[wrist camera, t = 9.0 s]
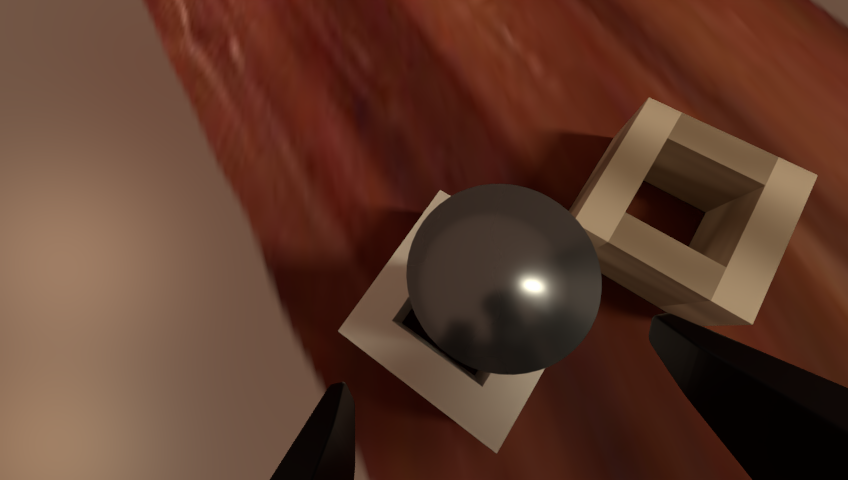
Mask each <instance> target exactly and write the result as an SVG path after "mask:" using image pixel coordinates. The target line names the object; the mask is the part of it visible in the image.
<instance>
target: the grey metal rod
mask: <svg viewBox="0 0 848 480" xmlns="http://www.w3.org/2000/svg"><path fill="white" fill-rule="evenodd" d="M406 279H407V289H408V294H409V298H410V302H411V305H412V307H413V310H414V313H415V315H416V317H417V319H418V320H419V322H420V324H421V326H422V327H423V329H424V330H425V332H426V333H427V334H428V336H429V337H430V338H431V339H432V340H433V341H434V342H435V343H436V344H437V346H438V347H440V348H441V349H442V350H443V351H444V352H446V353H447V354H448V355H449V356H451V357H453V358H454V359H456V360H457V361H459V362H461V363H463V364H465V365H467V366H469V367H472V368H474V369H477V370H481V371H484V372H488V373H494V374H500V375H517V374H526V373H531V372H534V371H538V370H542V369H544V368H546V367H549V366H551V365H553V364H555V363H557V362H558V361H560V360H561V359H563V358H565V357H566V356H567V355H568V354H570V353H571V352H572V351H573V350H574V349H575V348H576V347H577V346H578V345H579V344H580V343H581V342H582V340H583V339H584V338H585V336H586V335H587V333H588V332H589V330H590V329H591V327H592V324H593V322H594V320H595V318H596V315H597V312H598V308H599V305H600V299H601V292H602V278H601V270H600V264H599V261H598V257H597V253H596V251H595V249H594V246H593V244H592V242H591V240H590V238H589V236H588V235H587V233H586V231H585V230H584V228H583V227H582V226H581V224H580V223H579V222H578V220H577V219H576V218H575V217H574V216H573V215H572V214H571V213H570V212H569V211H568V210H566V209H565V208H564V207H563V206H562V205H560V204H559V203H557V202H556V201H554V200H553V199H551V198H550V197H548V196H546V195H544V194H542V193H540V192H537V191H534V190H532V189H529V188H526V187H521V186H517V185H509V184H488V185H480V186H476V187H472V188H469V189H466V190H463V191H461V192H458V193H456V194H455V195H453V196H451V197H449V198H447V199H446V200H445V201H443V202H442V203H440V204H439V205H438V206H437V207H436V208H435V209H434V210H433V211H432V212H430V214H429V215H428V216H427V217H426V219H425V220H424V221H423V222H422V224H421V226H420V227H419V229H418V230H417V232H416V234H415V237H414V239H413V241H412V244H411V247H410V250H409V254H408V260H407V272H406Z"/></svg>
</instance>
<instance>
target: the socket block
mask: <svg viewBox="0 0 848 480" xmlns="http://www.w3.org/2000/svg"><path fill="white" fill-rule="evenodd" d="M449 197H451V196H449V195H448V194H446V193H444V192H443V191H441V190H440V191H439V192H438V194H437V195H436V196H435V198H434V199H433V201H432V202H431V203H430V205H429V206H428V207H427V209H426V210H425V212H424V213H423V214H422V216H421V217H420V218H419V220H418V221H417V223H416V224H415V225H414V227H413V228H412V230H411V231H410V232H409V234H408V235H407V236H406V238H405V239H404V241H403V242H402V243H401V245H400V246H399V247H398V249H397V250H396V252H395V253H394V254H393V256H392V257H391V258H390V260H389V261H388V263H387V264H386V265H385V267H384V268H383V270H382V271H381V272H380V274H379V275H378V276H377V278H376V279H375V281H374V282H373V283H372V285H371V286H370V287H369V289H368V290H367V292H366V293H365V294H364V296H363V297H362V298H361V300H360V301H359V303H358V304H357V305H356V307H355V308H354V310H353V311H352V312H351V314H350V315H349V316H348V318H347V319H346V321H345V322H344V323H343V325H342V326H341V327H340V329H339V330H338V332H340V333H341V334H342V335H343V336H345V337H346V338H347V339H349V340H350V341H351V342H353V343H354V344H355V345H356V346H358V347H359V348H360V349H362V350H363V351H364V352H366V353H367V354H368V355H369V356H371V357H372V358H373V359H375V360H376V361H377V362H378V363H380V364H381V365H382V366H384V367H385V368H386V369H388V370H389V371H390V372H391V373H393V374H394V375H395V376H397V377H398V378H399V379H401V380H402V381H403V382H404V383H406V384H407V385H408V386H410V387H411V388H412V389H414V390H415V391H416V392H417V393H419V394H420V395H421V396H423V397H424V398H425V399H426V400H428V401H429V402H430V403H432V404H433V405H434V406H436V407H437V408H438V409H439V410H441V411H442V412H443V413H445V414H446V415H447V416H449V417H450V418H451V419H452V420H454V421H455V422H456V423H458V424H459V425H460V426H461V427H463V428H464V429H465V430H467V431H468V432H469V433H471V434H472V435H473V436H474V437H476V438H477V439H478V440H480V441H481V442H482V443H484V444H485V445H486V446H487V447H489V448H490V449H491V450H493V451H494V452H495V453H496V454H497V452H498V450H499V449H500V447H501V445H502V443H503V442H504V440H505V438H506V436H507V435H508V433H509V431H510V429H511V427H512V426H513V424H514V422H515V420H516V419H517V417H518V415H519V413H520V412H521V410H522V408H523V406H524V404H525V403H526V401H527V399H528V397H529V396H530V394H531V392H532V390H533V389H534V387H535V385H536V383H537V381H538V380H539V378H540V376H541V374H542V373H543V371H544V369H545V368H544V369H542V370H538V371H534V372H531V373H526V374H517V375H500V374H494V373H488V372H484V371H481V370H478V371H477V372H476V374H475V376H474V375H473V374H472V373H470V372H469V371H467V370H466V369H465V368H463V367H462V366H461V365H459V364H458V363H456V362H455V361H454V360H452V359H451V358H449V357H448V356H447V355H445V354H444V353H443V352H441V351H440V350H438V349H437V348H436V347H434V346H433V345H432V344H430V343H429V342H427V341H426V340H425V339H423V338H422V337H421V336H419V335H418V334H416V333H415V332H414V331H412V330H411V329H410V328H408V327H407V326H405V325H404V324H403V323H402V322H403V321H404V319H405V318H406V316H407V315H408V313H409V312H410V310H411V309H412V305H411V302H410V298H409V294H408V289H407V279H406V272H407V260H408V254H409V250H410V247H411V244H412V241H413V239H414V237H415V234H416V232H417V230H418V229H419V227H420V226H421V224H422V222H423V221H424V220H425V219H426V217H427V216H428V215H429V214H430V212H432V211H433V210H434V209H435V208H436V207H437V206H438V205H439V204H440V203H442V202H443V201H445V200H446V199H447V198H449Z"/></svg>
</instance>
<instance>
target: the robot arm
mask: <svg viewBox="0 0 848 480" xmlns="http://www.w3.org/2000/svg"><path fill="white" fill-rule="evenodd" d="M649 340H650V343H651V345H652V346H653V348H654V349H655V351H656V352H657V354H658V355H659V357H660V359H661V360H662V362H663V363H664V365H665V366H666V368H667V369H668V371H669V372H670V374H671V375H672V377H673V378H674V380H675V381H676V383H677V384H678V386H679V387H680V389H681V390H682V392H683V393H684V394H685V396H686V397H687V398H688V400H689V401H690V402H691V403H692V405H693V406H694V407H695V408H696V410H697V411H698V412H699V413H700V415H701V416H702V417H703V418H704V420H705V421H706V422H707V423H708V425H709V426H710V427H711V428H712V430H713V431H714V432H715V433H716V435H717V436H718V437H719V438H720V440H721V441H722V442H723V443H724V445H725V446H726V447H727V448H728V450H729V451H730V452H731V453H732V455H733V456H734V457H735V458H736V460H737V461H738V462H739V463H740V465H741V466H742V467H743V468H744V470H745V471H746V472H747V473H748V475H749V476H750V477H751V478H752V480H848V388H846V387H844V386H841V385H839V384H837V383H834V382H832V381H830V380H827V379H825V378H823V377H820V376H818V375H816V374H813V373H811V372H808V371H806V370H804V369H801V368H799V367H797V366H794V365H792V364H790V363H787V362H785V361H782V360H780V359H778V358H775V357H773V356H771V355H768V354H766V353H764V352H761V351H759V350H756V349H754V348H752V347H749V346H747V345H745V344H742V343H740V342H738V341H735V340H733V339H730V338H728V337H726V336H723V335H721V334H719V333H716V332H714V331H712V330H709V329H707V328H705V327H702V326H700V325H697V324H695V323H693V322H690V321H688V320H686V319H683V318H681V317H679V316H676V315H674V314H671V313H664V314H659V315H655V316H654V317H653V318H652V321H651V326H650V331H649ZM354 473H355V404H354V400H353V397H352V395H351V393H350V391H349V389H348V387H347V385H346V383H345V382H340V383H335V384H332V385H330V386H329V388H328V389H327V391H326V392H325V394H324V395H323V397H322V398H321V400H320V402H319V403H318V405H317V406H316V408H315V410H314V411H313V413H312V414H311V416H310V417H309V419H308V420H307V422H306V424H305V425H304V427H303V428H302V430H301V432H300V433H299V435H298V436H297V438H296V439H295V441H294V442H293V444H292V446H291V447H290V449H289V450H288V452H287V454H286V455H285V457H284V458H283V460H282V461H281V463H280V464H279V466H278V468H277V469H276V471H275V473H274V474H273V475H272V477H271V479H270V480H354Z"/></svg>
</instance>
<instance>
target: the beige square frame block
mask: <svg viewBox="0 0 848 480" xmlns="http://www.w3.org/2000/svg"><path fill="white" fill-rule="evenodd" d="M817 176H818V175H816V174H814V173H811V172H809V171H807V170H805V169H803V168H801V167H799V166H796V165H794V164H792V163H790V162H788V161H786V160H783V159H781V158H779V157H777V156H775V155H773V154H770V153H768V152H766V151H764V150H762V149H760V148H757V147H755V146H753V145H751V144H749V143H747V142H744V141H742V140H740V139H738V138H736V137H734V136H731V135H729V134H727V133H725V132H723V131H721V130H718V129H716V128H714V127H712V126H710V125H708V124H705V123H703V122H701V121H699V120H697V119H695V118H692V117H690V116H688V115H686V114H684V113H682V112H679V111H677V110H675V109H673V108H671V107H669V106H666V105H664V104H662V103H660V102H658V101H656V100H653V99H651V98H648V99H647V100H646V101H645V102H644V104H643V105H642V106H641V107H640V108H639V109H638V110H637V112H636V113H635V114H634V115H633V116H632V117H631V118H630V120H629V121H628V122H627V123H626V124H625V125H624V126H623V128H622V129H621V130H620V131H619V132H618V133H617V134H616V136H615V137H614V138H613V140H612V141H611V143H610V145H609V146H608V148H607V149H606V151H605V153H604V154H603V156H602V158H601V159H600V161H599V162H598V164H597V166H596V167H595V169H594V171H593V172H592V174H591V175H590V177H589V179H588V180H587V182H586V184H585V185H584V187H583V188H582V190H581V192H580V193H579V195H578V197H577V198H576V200H575V201H574V203H573V205H572V206H571V208H570V210H569V212H570V213H571V214H572V215H573V216H574V217H575V218H576V219H577V220H578V222H579V223H580V224H581V226H582V227H583V228H584V230H585V231H586V233H587V235H588V236H589V238H590V240H591V242H592V244H593V246H594V249H595V251H596V253H597V257H598V261H599V264H600V270H601V273H602V274H603V275H605V276H607V277H608V278H610V279H612V280H613V281H615V282H617V283H618V284H620V285H622V286H623V287H625V288H627V289H628V290H630V291H632V292H633V293H635V294H637V295H638V296H640V297H642V298H643V299H645V300H647V301H649V302H650V303H652V304H654V305H655V306H657V307H659V308H660V309H662V310H664V311H665V312H667V313H671V314H674V315H676V316H679V317H681V318H683V319H686V320H688V321H690V322H693V323H695V324H697V325H700V326H712V325H753V322H754V320H755V318H756V316H757V313H758V311H759V309H760V306H761V304H762V302H763V299H764V297H765V295H766V293H767V290H768V288H769V286H770V283H771V281H772V279H773V277H774V274H775V272H776V270H777V267H778V265H779V263H780V261H781V258H782V256H783V254H784V251H785V249H786V247H787V245H788V242H789V240H790V238H791V235H792V233H793V231H794V228H795V226H796V224H797V222H798V219H799V217H800V215H801V212H802V210H803V208H804V206H805V203H806V201H807V199H808V196H809V194H810V192H811V190H812V187H813V185H814V183H815V180H816V178H817ZM643 180H644V181H646V182H648V183H650V184H652V185H653V186H655V187H657V188H659V189H661V190H663V191H665V192H667V193H669V194H671V195H673V196H675V197H677V198H679V199H681V200H682V201H684V202H686V203H688V204H690V205H692V206H694V207H696V208H698V209H700V210H702V211H704V212H706V213H705V215H704V217H703V219H702V221H701V223H700V225H699V227H698V229H697V231H696V233H695V235H694V236H693V238H692V240H691V242H690V244H689V246H686V245H684V244H682V243H681V242H679V241H677V240H675V239H673V238H671V237H670V236H668V235H666V234H664V233H662V232H660V231H659V230H657V229H655V228H653V227H651V226H649V225H648V224H646V223H644V222H642V221H640V220H638V219H637V218H635V217H633V216H631V215H629V214H627V213H626V212H625V211H626V210H627V208H628V206H629V204H630V203H631V201H632V199H633V197H634V196H635V194H636V192H637V190H638V189H639V187H640V185H641V183H642V182H643Z"/></svg>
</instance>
